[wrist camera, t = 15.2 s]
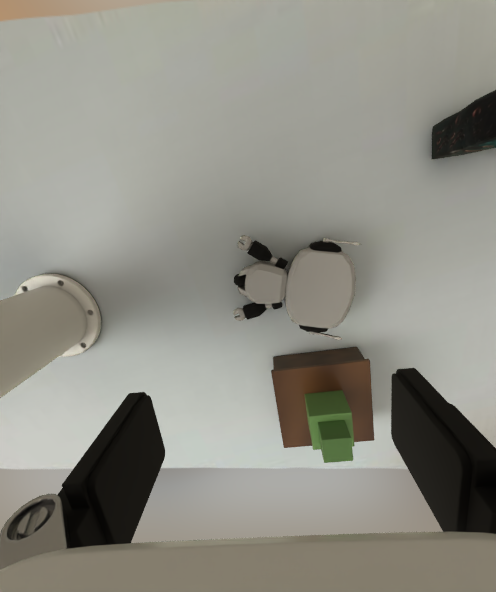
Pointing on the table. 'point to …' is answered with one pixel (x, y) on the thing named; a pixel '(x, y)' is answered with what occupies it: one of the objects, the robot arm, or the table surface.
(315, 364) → the walnut plinth
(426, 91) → the table surface
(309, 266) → the robot toy
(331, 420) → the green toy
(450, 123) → the ceramic cat
